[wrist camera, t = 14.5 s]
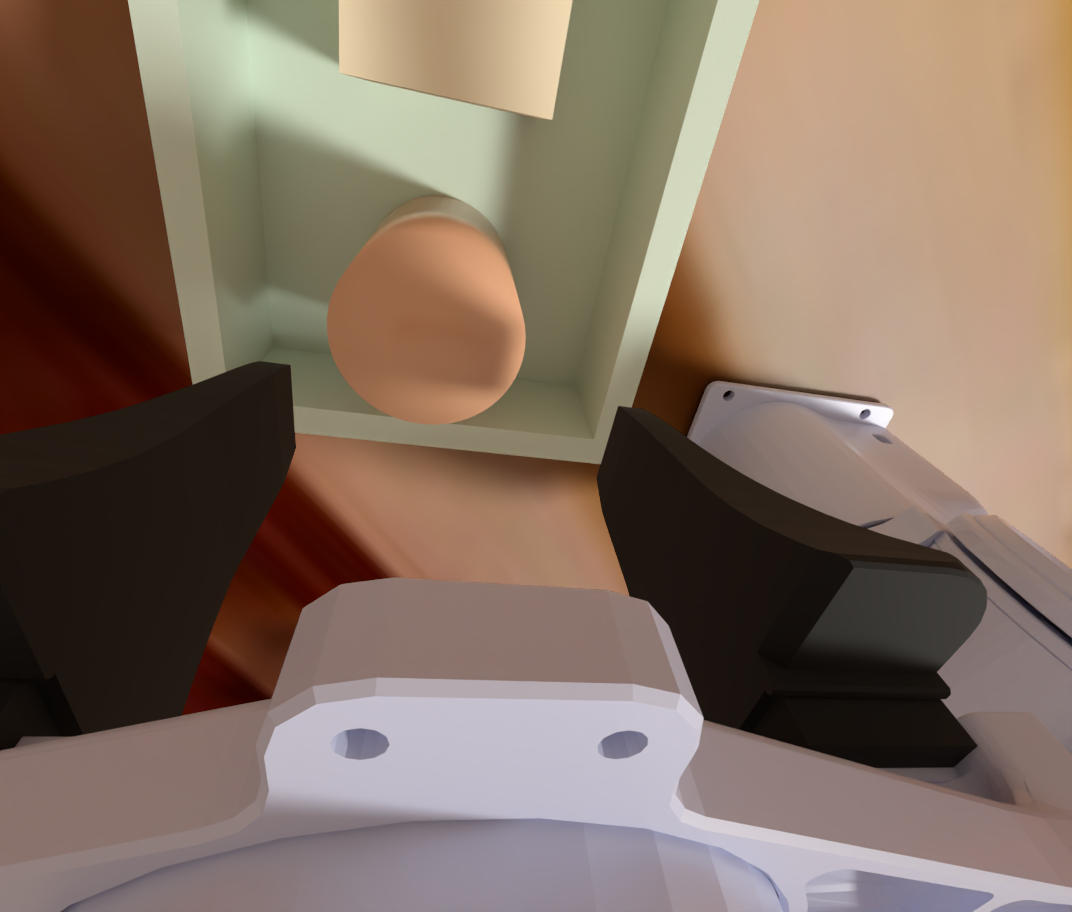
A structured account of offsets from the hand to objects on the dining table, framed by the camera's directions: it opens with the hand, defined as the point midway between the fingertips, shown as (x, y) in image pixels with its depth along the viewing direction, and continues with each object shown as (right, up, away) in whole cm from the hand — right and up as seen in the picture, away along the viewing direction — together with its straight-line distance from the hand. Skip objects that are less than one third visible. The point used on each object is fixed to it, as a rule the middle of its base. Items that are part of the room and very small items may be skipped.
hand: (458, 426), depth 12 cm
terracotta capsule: (-2, +6, +8) cm, 10 cm away
